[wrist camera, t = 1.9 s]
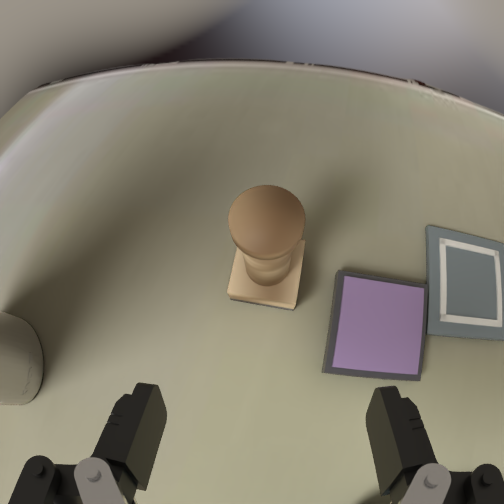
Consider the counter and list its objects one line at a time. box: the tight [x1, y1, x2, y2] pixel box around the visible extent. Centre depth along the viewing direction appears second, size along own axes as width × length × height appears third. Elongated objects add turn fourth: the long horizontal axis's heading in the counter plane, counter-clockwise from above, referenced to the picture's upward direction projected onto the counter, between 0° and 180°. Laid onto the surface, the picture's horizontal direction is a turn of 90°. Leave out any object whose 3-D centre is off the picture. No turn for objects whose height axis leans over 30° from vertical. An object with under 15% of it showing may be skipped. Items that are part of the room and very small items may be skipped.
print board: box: [425, 225, 504, 341], centre depth 24 cm, size 10×10×1 cm
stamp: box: [227, 185, 305, 311], centre depth 21 cm, size 5×5×10 cm
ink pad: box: [322, 270, 428, 381], centre depth 23 cm, size 8×8×2 cm
